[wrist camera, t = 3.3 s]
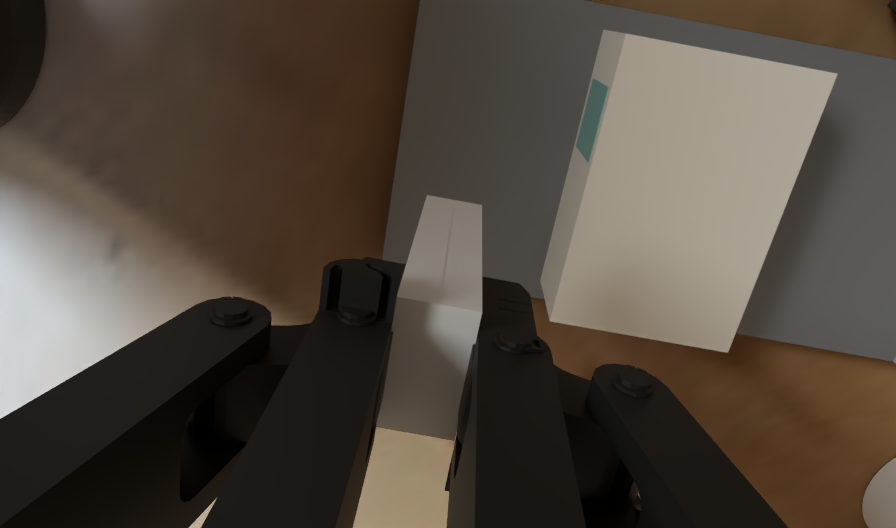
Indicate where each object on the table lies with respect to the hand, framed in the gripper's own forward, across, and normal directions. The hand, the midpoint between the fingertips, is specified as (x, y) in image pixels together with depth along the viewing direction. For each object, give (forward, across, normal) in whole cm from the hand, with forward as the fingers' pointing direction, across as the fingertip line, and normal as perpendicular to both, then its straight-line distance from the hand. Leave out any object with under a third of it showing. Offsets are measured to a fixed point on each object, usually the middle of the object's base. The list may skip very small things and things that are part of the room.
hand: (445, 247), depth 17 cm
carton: (+13, +9, 0) cm, 16 cm away
